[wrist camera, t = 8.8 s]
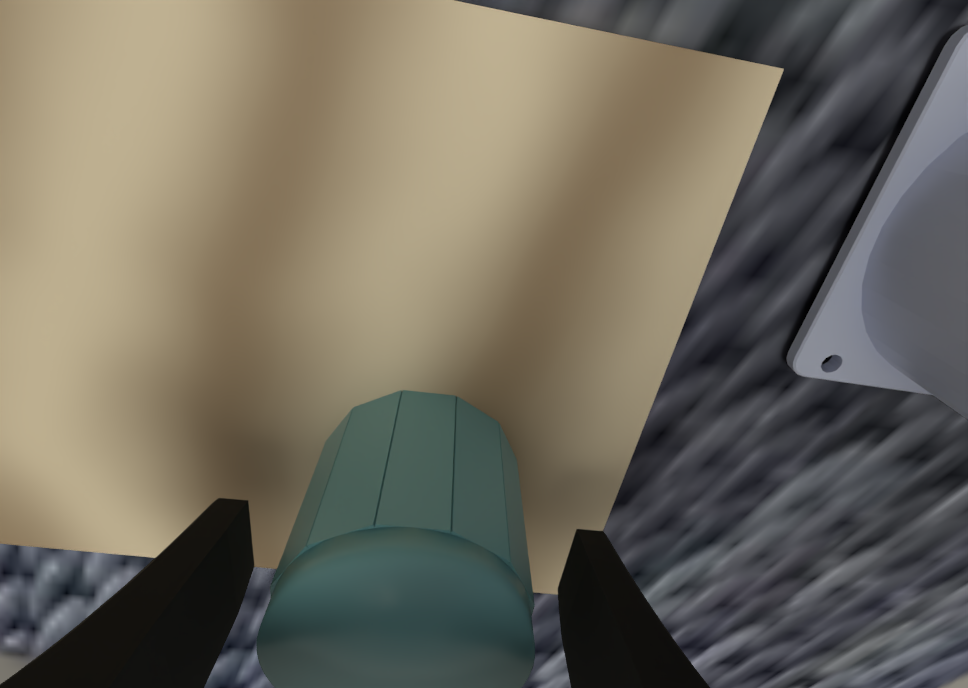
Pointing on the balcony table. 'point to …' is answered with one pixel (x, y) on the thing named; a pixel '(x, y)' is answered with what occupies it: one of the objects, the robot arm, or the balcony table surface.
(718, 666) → the balcony table surface
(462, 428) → the teal cap
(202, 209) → the birch board
